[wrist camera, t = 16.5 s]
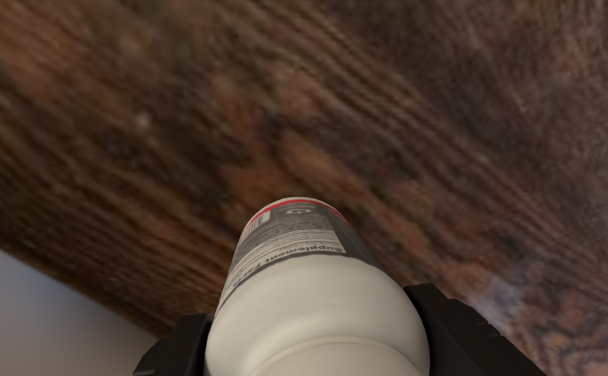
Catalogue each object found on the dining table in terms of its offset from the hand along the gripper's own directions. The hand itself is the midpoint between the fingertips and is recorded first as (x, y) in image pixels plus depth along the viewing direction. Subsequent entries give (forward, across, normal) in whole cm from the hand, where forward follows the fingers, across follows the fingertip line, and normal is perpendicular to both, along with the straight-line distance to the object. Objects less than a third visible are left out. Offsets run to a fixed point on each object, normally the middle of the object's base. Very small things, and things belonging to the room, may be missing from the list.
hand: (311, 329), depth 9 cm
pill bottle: (+6, 0, 0) cm, 6 cm away
